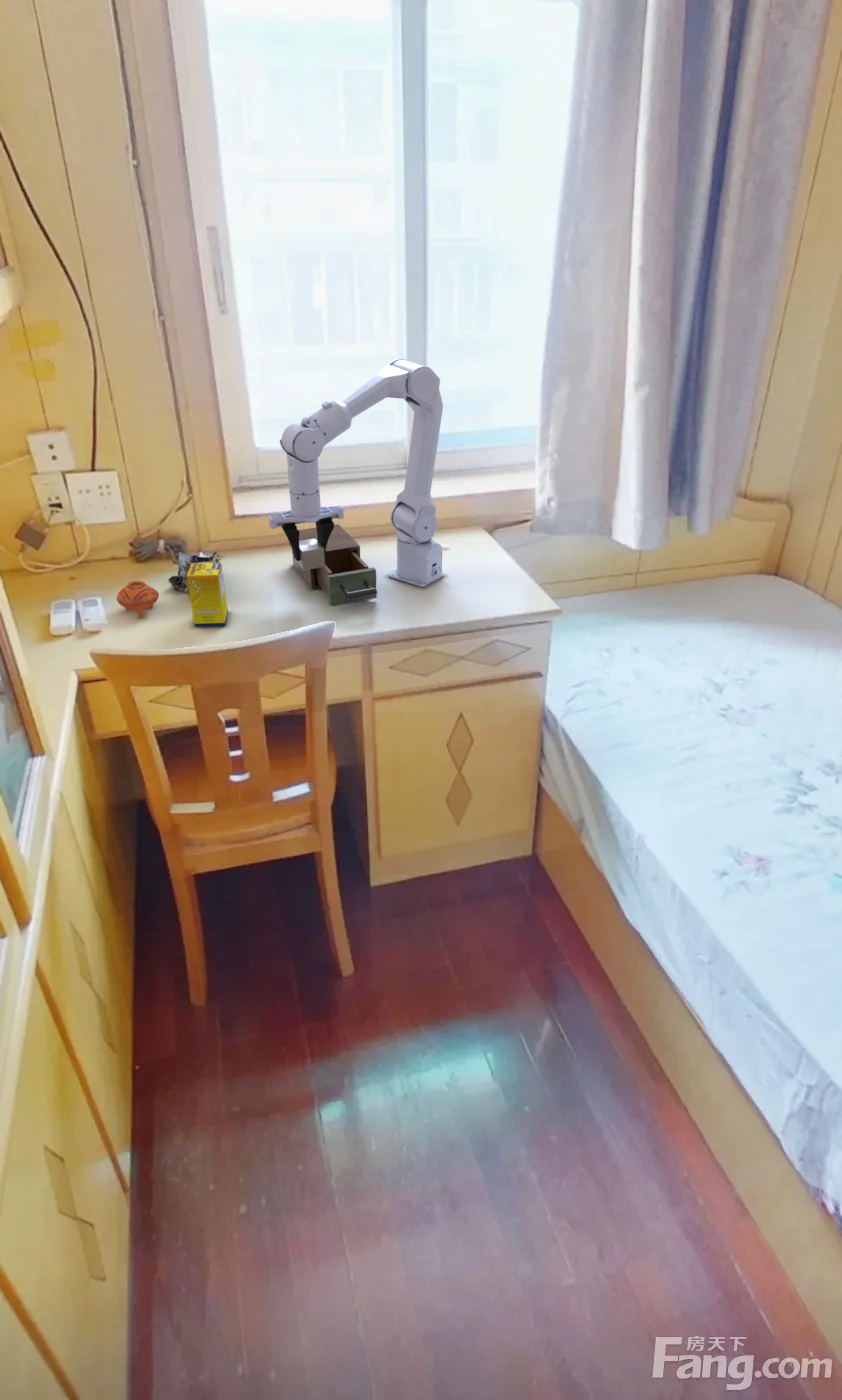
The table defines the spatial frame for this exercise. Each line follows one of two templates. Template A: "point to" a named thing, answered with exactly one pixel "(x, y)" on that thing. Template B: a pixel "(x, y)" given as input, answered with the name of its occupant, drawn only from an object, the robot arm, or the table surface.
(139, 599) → the pot
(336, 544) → the cabinet
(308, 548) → the shiny metal block
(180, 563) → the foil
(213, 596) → the supplement box
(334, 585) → the drawer
